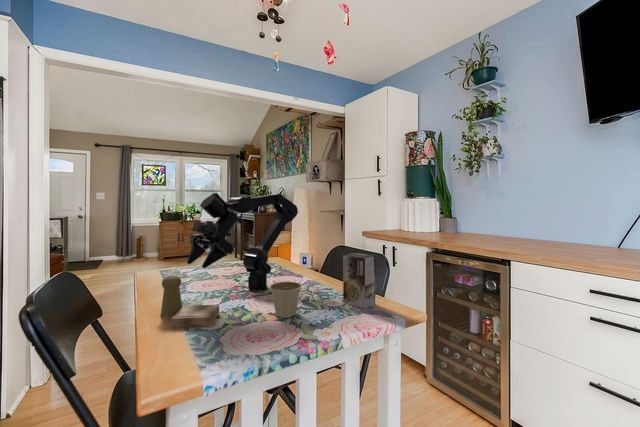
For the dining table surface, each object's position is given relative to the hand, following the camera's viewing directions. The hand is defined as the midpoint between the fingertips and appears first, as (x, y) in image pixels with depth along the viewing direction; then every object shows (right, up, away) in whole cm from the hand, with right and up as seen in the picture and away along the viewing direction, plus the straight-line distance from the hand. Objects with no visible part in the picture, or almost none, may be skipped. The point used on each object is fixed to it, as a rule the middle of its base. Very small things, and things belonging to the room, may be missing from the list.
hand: (195, 265), depth 96 cm
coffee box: (+53, -13, +4) cm, 55 cm away
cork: (-5, -13, -6) cm, 15 cm away
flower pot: (+30, -14, -6) cm, 33 cm away
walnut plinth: (+5, -13, -11) cm, 18 cm away
